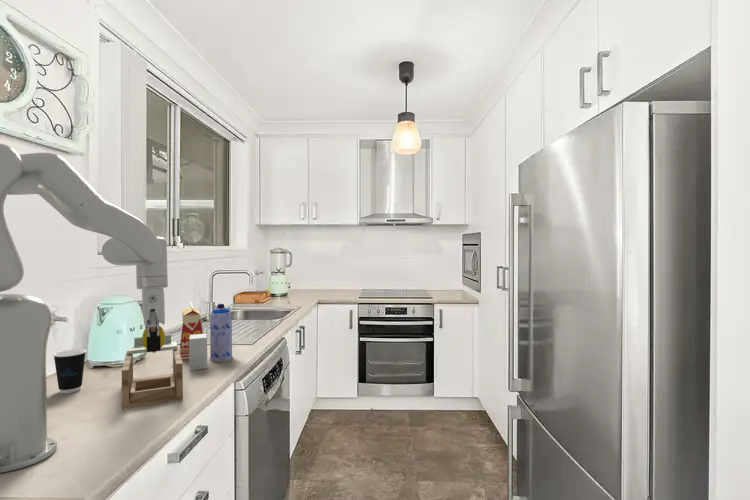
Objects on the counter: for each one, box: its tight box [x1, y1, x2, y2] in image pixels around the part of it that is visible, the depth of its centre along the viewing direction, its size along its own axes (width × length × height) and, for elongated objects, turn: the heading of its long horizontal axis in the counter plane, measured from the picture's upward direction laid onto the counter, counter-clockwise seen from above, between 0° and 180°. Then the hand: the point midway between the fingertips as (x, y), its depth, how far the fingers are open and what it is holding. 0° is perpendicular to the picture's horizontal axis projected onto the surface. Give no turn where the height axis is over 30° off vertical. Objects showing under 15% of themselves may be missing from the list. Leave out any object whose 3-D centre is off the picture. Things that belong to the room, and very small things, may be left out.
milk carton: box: [179, 301, 204, 360], centre depth 160 cm, size 9×9×20 cm
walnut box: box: [121, 344, 184, 410], centre depth 122 cm, size 24×14×10 cm, turn 27°
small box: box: [188, 333, 208, 371], centre depth 146 cm, size 8×6×10 cm
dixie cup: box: [52, 348, 88, 394], centre depth 122 cm, size 8×8×11 cm
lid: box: [127, 333, 178, 355], centre depth 129 cm, size 7×13×4 cm, turn 117°
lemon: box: [141, 325, 166, 354], centre depth 116 cm, size 6×6×8 cm
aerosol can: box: [209, 303, 234, 362], centre depth 156 cm, size 8×8×20 cm
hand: (153, 347), depth 116 cm, fingers closed on lemon, 5 cm apart
